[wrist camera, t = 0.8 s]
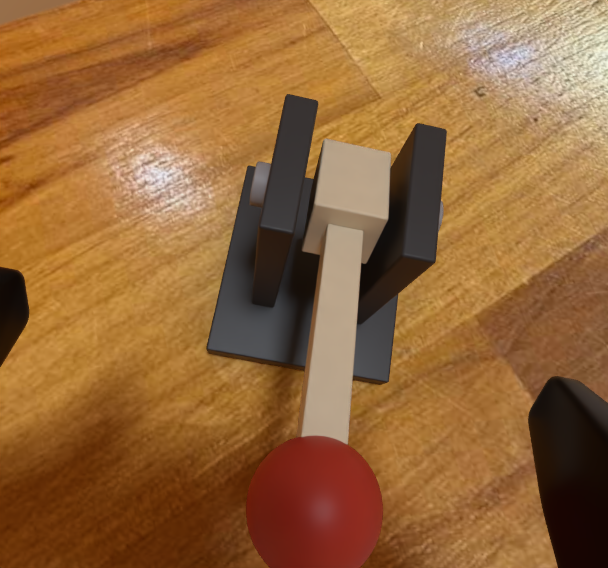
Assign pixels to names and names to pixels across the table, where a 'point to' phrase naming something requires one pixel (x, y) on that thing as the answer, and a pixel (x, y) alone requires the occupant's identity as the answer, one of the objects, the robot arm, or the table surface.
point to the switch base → (304, 266)
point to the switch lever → (327, 384)
